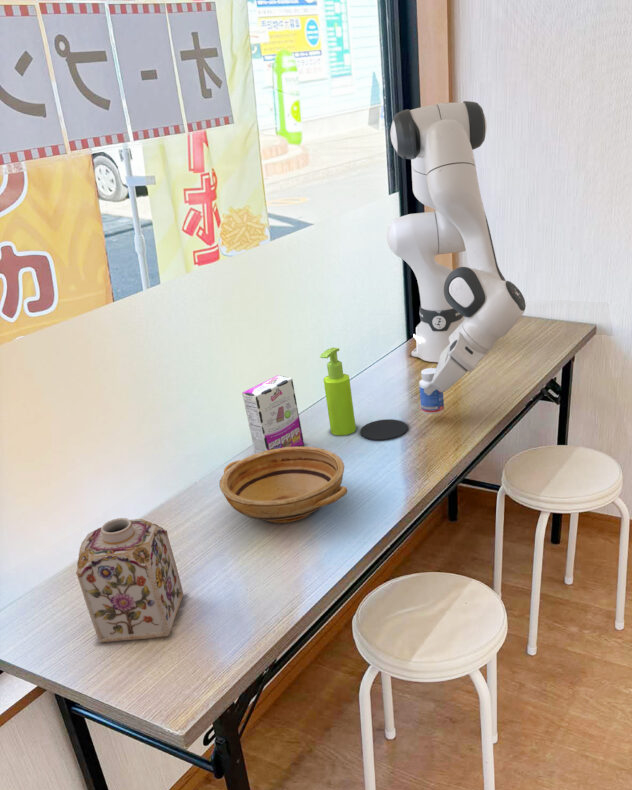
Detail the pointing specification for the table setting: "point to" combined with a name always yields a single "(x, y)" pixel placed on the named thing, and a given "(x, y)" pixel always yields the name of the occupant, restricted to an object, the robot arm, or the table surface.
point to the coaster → (383, 430)
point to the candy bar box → (273, 415)
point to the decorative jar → (129, 580)
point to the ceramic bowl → (283, 483)
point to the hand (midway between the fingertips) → (428, 386)
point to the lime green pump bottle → (338, 396)
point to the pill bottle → (433, 401)
